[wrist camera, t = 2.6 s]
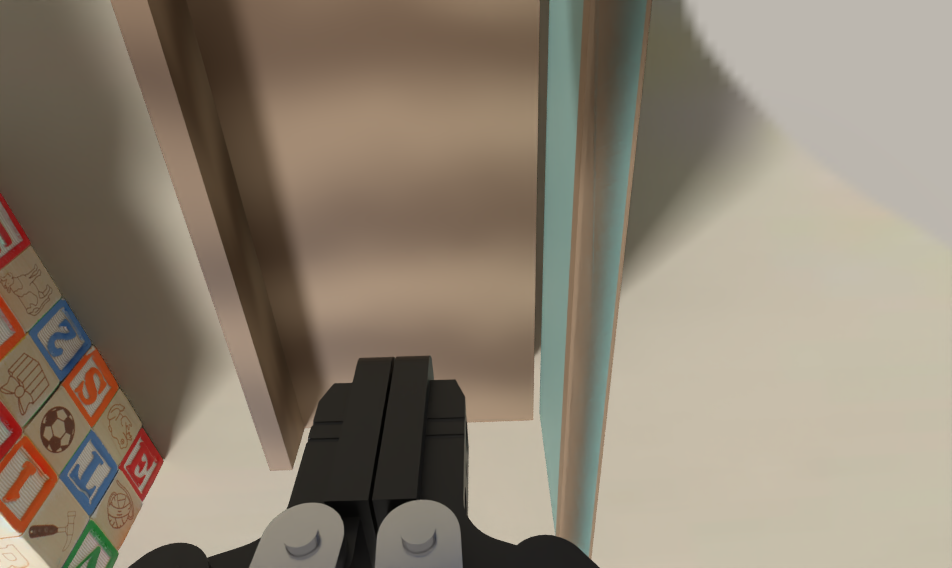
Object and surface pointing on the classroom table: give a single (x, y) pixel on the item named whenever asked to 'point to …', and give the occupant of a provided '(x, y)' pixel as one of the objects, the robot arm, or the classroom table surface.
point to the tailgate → (585, 238)
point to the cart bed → (353, 188)
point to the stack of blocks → (60, 427)
